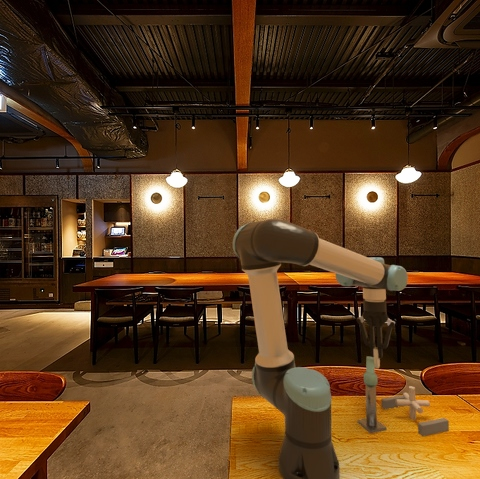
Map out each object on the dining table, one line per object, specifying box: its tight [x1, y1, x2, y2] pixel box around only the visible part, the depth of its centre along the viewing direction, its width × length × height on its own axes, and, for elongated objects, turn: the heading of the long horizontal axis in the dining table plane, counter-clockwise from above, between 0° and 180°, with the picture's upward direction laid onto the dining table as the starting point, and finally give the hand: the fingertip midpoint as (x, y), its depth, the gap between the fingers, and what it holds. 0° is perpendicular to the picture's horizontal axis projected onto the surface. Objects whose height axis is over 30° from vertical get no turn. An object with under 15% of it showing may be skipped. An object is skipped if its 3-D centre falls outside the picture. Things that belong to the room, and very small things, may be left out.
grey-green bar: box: [363, 355, 378, 386], centre depth 102 cm, size 20×4×2 cm, turn 157°
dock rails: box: [380, 395, 450, 437], centre depth 98 cm, size 10×17×3 cm, turn 15°
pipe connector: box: [395, 385, 431, 421], centre depth 98 cm, size 10×10×10 cm
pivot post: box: [356, 384, 387, 434], centre depth 94 cm, size 6×6×13 cm
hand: (377, 366), depth 106 cm, fingers closed
